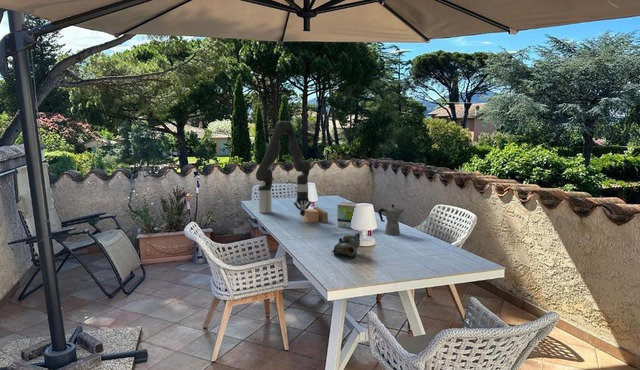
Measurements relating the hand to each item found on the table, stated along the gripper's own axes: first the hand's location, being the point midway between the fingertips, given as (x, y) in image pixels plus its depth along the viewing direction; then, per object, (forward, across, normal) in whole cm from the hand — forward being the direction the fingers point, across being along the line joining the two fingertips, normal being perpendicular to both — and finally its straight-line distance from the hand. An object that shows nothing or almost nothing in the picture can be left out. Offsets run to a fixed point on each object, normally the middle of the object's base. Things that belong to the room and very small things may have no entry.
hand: (302, 215), depth 293 cm
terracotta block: (+4, -6, 0) cm, 7 cm away
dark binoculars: (+4, +2, +79) cm, 79 cm away
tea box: (+4, -25, +24) cm, 35 cm away
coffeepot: (+4, -40, +50) cm, 64 cm away
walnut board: (+4, -13, 0) cm, 14 cm away
